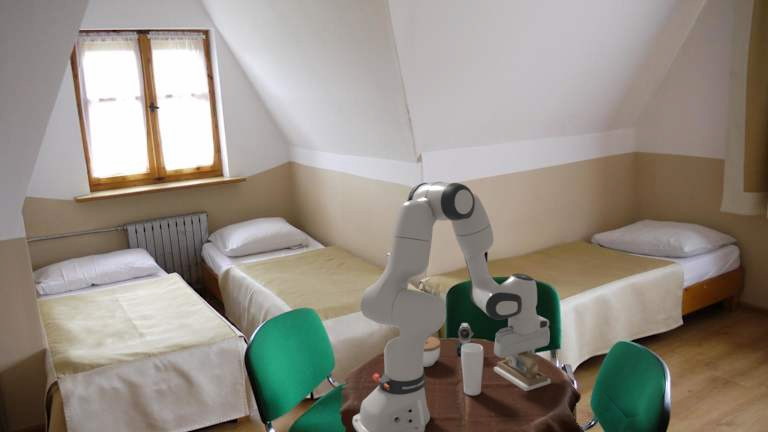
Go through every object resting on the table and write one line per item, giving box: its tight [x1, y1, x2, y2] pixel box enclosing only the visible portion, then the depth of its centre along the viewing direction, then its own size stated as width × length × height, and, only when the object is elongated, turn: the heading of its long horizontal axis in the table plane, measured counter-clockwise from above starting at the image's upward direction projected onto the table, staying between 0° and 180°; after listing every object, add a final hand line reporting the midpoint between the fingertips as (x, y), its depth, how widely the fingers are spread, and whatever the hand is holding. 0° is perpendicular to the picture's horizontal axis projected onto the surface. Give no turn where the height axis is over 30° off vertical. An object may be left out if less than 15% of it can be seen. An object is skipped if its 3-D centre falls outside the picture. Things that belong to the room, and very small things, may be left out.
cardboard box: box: [507, 351, 539, 380], centre depth 197 cm, size 4×11×7 cm, turn 27°
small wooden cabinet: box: [493, 357, 552, 392], centre depth 198 cm, size 10×16×4 cm, turn 27°
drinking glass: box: [460, 342, 484, 397], centre depth 188 cm, size 7×7×15 cm
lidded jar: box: [423, 335, 441, 368], centre depth 210 cm, size 11×11×9 cm
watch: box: [456, 322, 474, 357], centre depth 216 cm, size 6×8×11 cm
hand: (521, 363), depth 197 cm, fingers open, 4 cm apart
